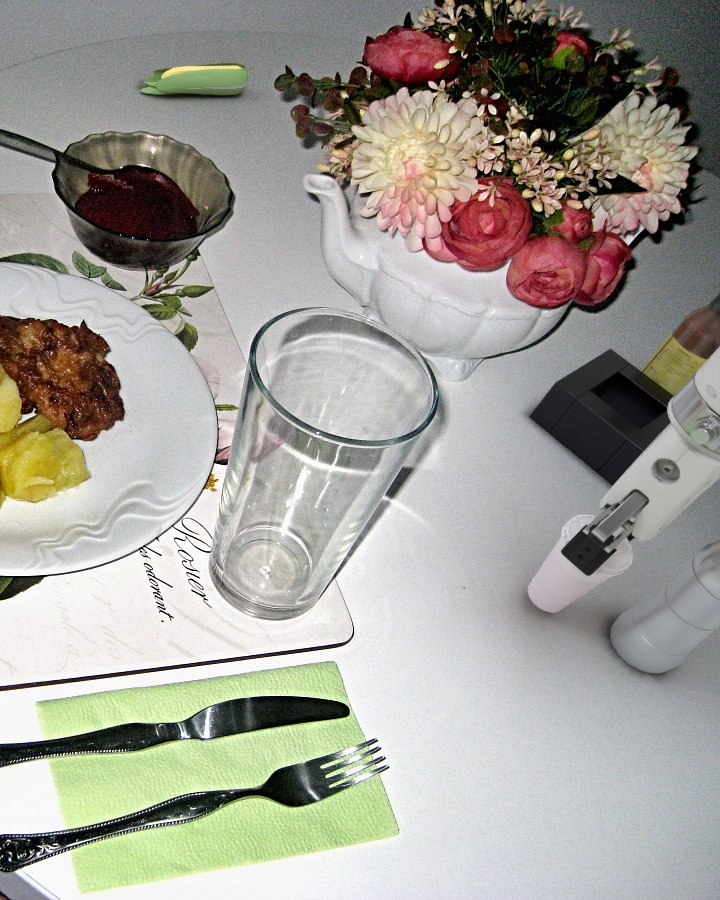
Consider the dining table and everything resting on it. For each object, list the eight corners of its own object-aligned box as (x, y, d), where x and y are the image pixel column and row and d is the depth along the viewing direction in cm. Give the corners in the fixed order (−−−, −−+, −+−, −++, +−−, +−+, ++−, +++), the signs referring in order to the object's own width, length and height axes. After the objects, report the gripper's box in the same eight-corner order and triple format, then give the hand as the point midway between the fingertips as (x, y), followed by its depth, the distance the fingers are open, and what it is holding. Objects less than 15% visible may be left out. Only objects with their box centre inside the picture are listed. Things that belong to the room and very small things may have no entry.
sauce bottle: (670, 427, 115) (784, 309, 100) (623, 410, 115) (730, 290, 101) (666, 395, 119) (774, 277, 105) (620, 378, 120) (722, 259, 105)
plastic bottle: (598, 614, 92) (733, 496, 77) (662, 636, 92) (810, 523, 77) (603, 667, 88) (747, 553, 73) (670, 691, 88) (828, 582, 73)
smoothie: (576, 634, 87) (666, 554, 77) (512, 609, 88) (592, 526, 77) (577, 583, 91) (662, 501, 81) (515, 560, 92) (592, 475, 81)
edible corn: (251, 99, 152) (259, 73, 149) (145, 102, 144) (151, 75, 141) (237, 83, 155) (245, 57, 151) (133, 85, 147) (138, 58, 144)
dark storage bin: (664, 454, 111) (702, 416, 106) (613, 495, 105) (650, 456, 99) (578, 387, 117) (610, 348, 112) (524, 421, 110) (555, 382, 105)
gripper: (719, 494, 63) (580, 620, 77) (816, 408, 72) (675, 535, 85) (629, 425, 67) (510, 557, 80) (732, 350, 75) (609, 481, 89)
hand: (596, 545), depth 83 cm, fingers closed on smoothie, 6 cm apart
